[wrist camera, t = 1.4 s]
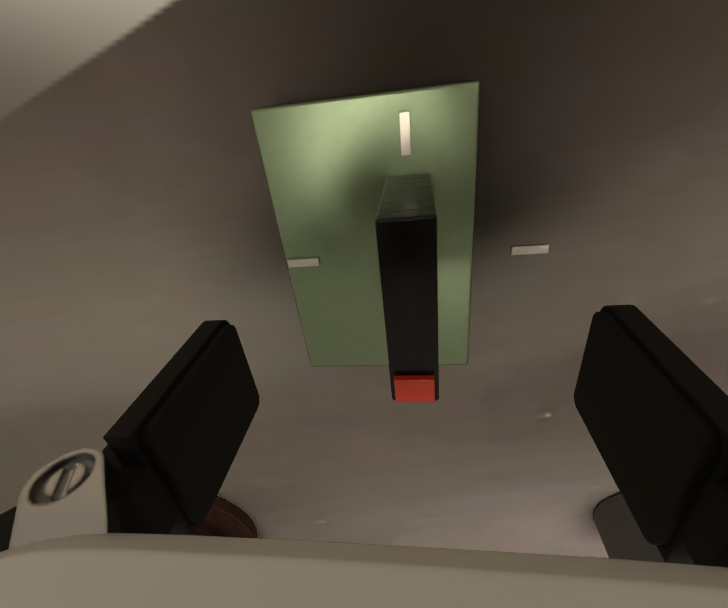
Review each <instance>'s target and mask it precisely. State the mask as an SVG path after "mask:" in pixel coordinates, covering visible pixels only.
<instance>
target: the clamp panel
mask: <svg viewBox="0 0 728 608" xmlns="http://www.w3.org/2000/svg"><path fill="white" fill-rule="evenodd" d="M479 97H480V81H478V80H471V81H459V82H452V83H444V84H436V85H428V86H420V87H412V88H405V89H397V90H389V91H381V92H373V93H365V94H358V95H350V96H342V97H334V98H326V99H318V100H310V101H303V102H295V103H287V104H279V105H273V106H267V107H261V108H255V109H251V110H250V113H251V117H252V121H253V125H254V129H255V134H256V138H257V142H258V146H259V150H260V154H261V159H262V163H263V167H264V171H265V175H266V179H267V184H268V188H269V192H270V196H271V200H272V204H273V209H274V213H275V217H276V221H277V225H278V229H279V234H280V238H281V242H282V246H283V250H284V254H285V259H286V263H287V267H288V271H289V275H290V279H291V284H292V288H293V292H294V296H295V300H296V304H297V309H298V313H299V317H300V321H301V325H302V329H303V334H304V338H305V342H306V346H307V350H308V354H309V359H310V363H311V366H378V365H389V361H388V351H387V340H386V330H385V320H384V310H383V300H382V290H381V280H380V270H379V260H378V250H377V240H376V229H375V219H376V216H377V212H378V208H379V204H380V201H381V197H382V193H383V189H384V185H385V182H386V178H388V177H399V176H410V175H421V174H429V177H430V182H431V188H432V193H433V198H434V204H435V209H436V214H437V258H438V363H439V365H461V364H468V350H469V327H470V304H471V281H472V258H473V235H474V212H475V189H476V166H477V143H478V120H479ZM548 251H549V244H531V245H514V246H511V251H510V254H511V255H524V254H542V253H548Z"/></svg>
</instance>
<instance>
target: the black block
mask: <svg viewBox="0 0 728 608" xmlns="http://www.w3.org/2000/svg"><path fill="white" fill-rule="evenodd" d="M375 229H376V240H377V250H378V260H379V270H380V280H381V290H382V300H383V310H384V320H385V330H386V340H387V351H388V361H389V371H390V381H391V391H392V398H393V400H396V402H435V400H438V399H439V363H438V258H437V214H436V209H435V204H434V198H433V193H432V188H431V182H430V177H429V174H421V175H410V176H399V177H388V178H386V182H385V185H384V189H383V193H382V197H381V201H380V204H379V208H378V212H377V216H376V219H375Z"/></svg>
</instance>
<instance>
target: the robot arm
mask: <svg viewBox="0 0 728 608" xmlns="http://www.w3.org/2000/svg"><path fill="white" fill-rule="evenodd" d="M574 401H575V405H576V408H577V410H578V412H579V414H580V415H581V417H582V419H583V421H584V423H585V425H586V427H587V429H588V431H589V433H590V435H591V437H592V438H593V440H594V442H595V444H596V446H597V448H598V450H599V452H600V454H601V456H602V458H603V460H604V462H605V463H606V465H607V467H608V469H609V471H610V473H611V475H612V477H613V479H614V481H615V483H616V485H617V486H618V488H619V490H620V492H621V494H622V496H623V498H624V500H625V502H626V504H627V506H628V508H629V509H630V511H631V513H632V515H633V517H634V519H635V521H636V523H637V525H638V527H639V529H640V531H641V532H642V534H643V536H644V538H645V539H646V540H647V541H648V543H650V544H651V545H656V546H657V548H658V550H659V552H660V554H661V556H662V557H663V559H664V561H665V563H664V562H651V561H639V560H626V559H612V558H595V557H578V556H562V555H545V554H529V553H512V552H496V551H479V550H462V549H444V548H426V547H409V546H391V545H372V544H354V543H336V542H317V541H298V540H278V539H257V538H237V537H217V536H197V535H193V534H194V532H195V530H196V528H197V526H198V524H199V522H202V521H204V520H205V519H206V517H207V515H208V513H209V511H210V509H211V507H212V505H213V503H214V501H215V498H216V496H217V494H218V492H219V490H220V488H221V486H222V483H223V481H224V479H225V477H226V475H227V473H228V471H229V468H230V466H231V464H232V462H233V460H234V458H235V456H236V454H237V451H238V449H239V447H240V445H241V443H242V441H243V439H244V436H245V434H246V432H247V430H248V428H249V426H250V424H251V421H252V419H253V417H254V415H255V413H256V411H257V409H258V406H259V394H258V391H257V388H256V385H255V382H254V379H253V377H252V374H251V371H250V368H249V365H248V362H247V359H246V356H245V354H244V351H243V348H242V345H241V342H240V339H239V336H238V333H237V331H236V328H235V327H234V326H233V325H230V324H229V322H228V321H226V320H215V321H204V322H203V323H202V324H201V325H200V326H199V327H198V329H197V330H196V331H195V332H194V333H193V334H192V336H191V337H190V338H189V339H188V340H187V341H186V342H185V344H184V345H183V346H182V347H181V348H180V349H179V350H178V352H177V353H176V354H175V355H174V356H173V357H172V359H171V360H170V361H169V362H168V363H167V364H166V365H165V367H164V368H163V369H162V370H161V371H160V372H159V373H158V375H157V376H156V377H155V378H154V379H153V380H152V382H151V383H150V384H149V385H148V386H147V387H146V388H145V390H144V391H143V392H142V393H141V394H140V395H139V396H138V398H137V399H136V400H135V401H134V402H133V403H132V405H131V406H130V407H129V408H128V409H127V410H126V411H125V413H124V414H123V415H122V416H121V417H120V418H119V419H118V421H117V422H116V423H115V424H114V425H113V426H112V428H111V429H110V430H109V431H108V432H107V433H106V434H105V436H104V437H103V438H104V439H105V441H106V442H107V444H108V445H107V446H106V447H105V448H104V449H103V451H101V450H100V449H98V448H97V447H89V446H87V447H81V448H76V449H74V450H71V451H68V452H66V453H64V454H62V455H60V456H58V457H56V458H54V459H53V460H51V461H50V462H48V463H47V464H46V465H44V466H43V467H41V468H40V469H39V470H38V471H37V472H36V473H35V474H34V475H33V476H32V477H31V478H30V479H29V480H28V482H27V483H26V484H25V486H24V487H23V488H22V491H21V493H20V496H19V498H18V503H17V506H16V507H14V508H12V509H10V510H8V511H6V512H4V513H3V514H1V515H0V608H728V396H727V395H726V394H725V393H724V392H723V391H722V390H721V389H720V388H719V387H718V386H717V385H716V384H715V383H714V382H713V381H712V380H711V379H710V378H709V377H708V376H707V375H706V374H705V373H704V372H703V371H701V370H700V369H699V368H698V367H697V366H696V365H695V364H694V363H693V362H692V361H691V360H690V359H689V358H688V357H687V356H686V355H685V354H684V353H683V352H682V351H681V350H680V349H679V348H678V347H677V346H676V345H675V344H674V343H673V342H672V341H671V340H670V339H669V338H668V337H666V336H665V335H664V334H663V333H662V332H661V331H660V330H659V329H658V328H657V327H656V326H655V325H654V324H653V323H652V322H651V321H650V320H649V319H648V318H647V317H646V316H645V315H644V314H643V313H642V312H641V311H640V310H639V309H638V308H637V307H635V306H634V305H611V306H604V307H603V308H602V309H601V311H600V312H596V313H595V314H594V315H593V318H592V322H591V326H590V330H589V334H588V339H587V343H586V347H585V351H584V355H583V359H582V363H581V367H580V371H579V376H578V380H577V384H576V388H575V392H574ZM169 533H170V534H171V535H169Z"/></svg>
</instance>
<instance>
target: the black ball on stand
mask: <svg viewBox="0 0 728 608" xmlns="http://www.w3.org/2000/svg"><path fill="white" fill-rule="evenodd" d="M169 535H171V534H170V533H169ZM193 535H197V536H217V537H237V538H256V537H257V531H256V528H255V526H254V524H253V522H252V521H251V520H250V518H249V517H248V516H247V515H246V514H245V513H244V512H242V511H241V510H240V509H238V508H237V507H235V506H234V505H232V504H231V503H229V502H227V501H225V500H223V499H221V498H218V497H216V498H215V501H214V503H213V505H212V507H211V509H210V511H209V513H208V515H207V517H206V519H205V520H204V521H202V522H199V524H198V526H197V528H196V530H195V532H194V534H193Z"/></svg>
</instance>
